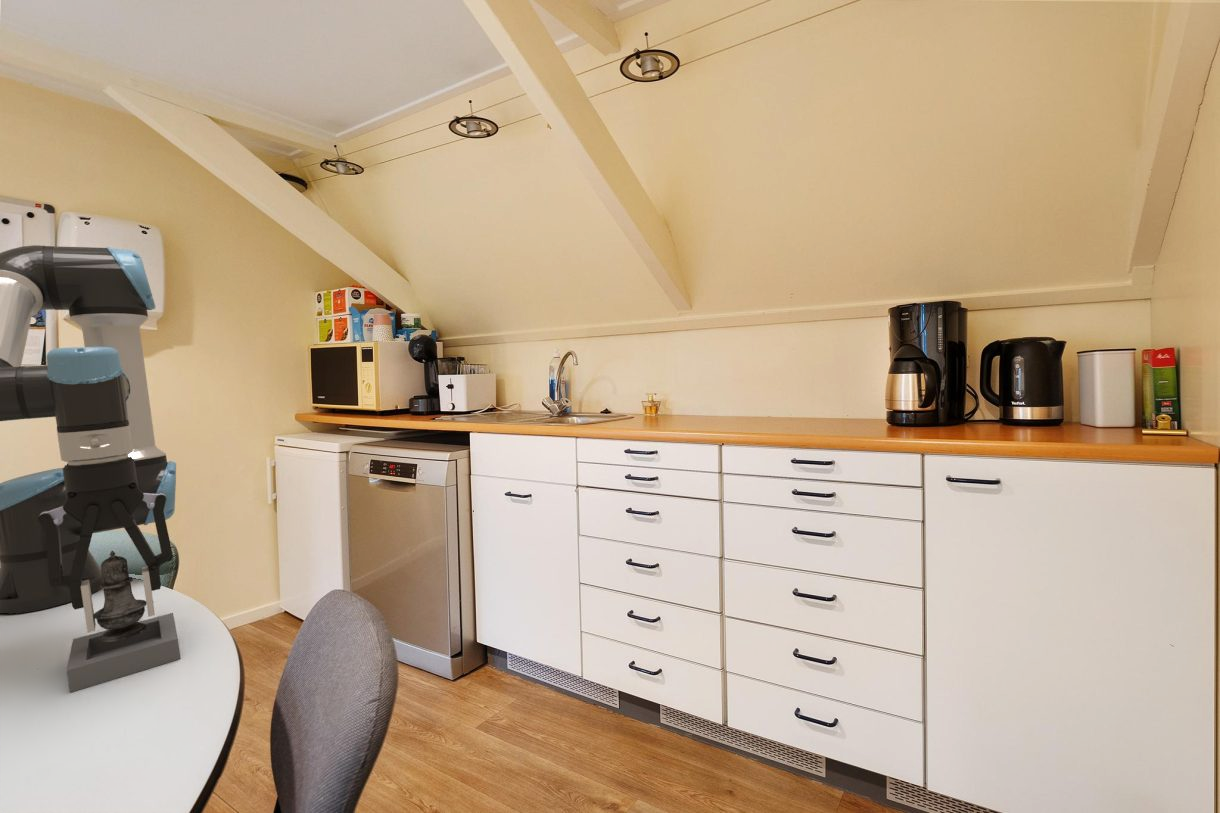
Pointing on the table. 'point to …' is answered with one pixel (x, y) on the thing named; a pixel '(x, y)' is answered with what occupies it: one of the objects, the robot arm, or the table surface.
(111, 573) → the dark grey tall piece
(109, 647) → the grey square tray
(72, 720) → the table surface
